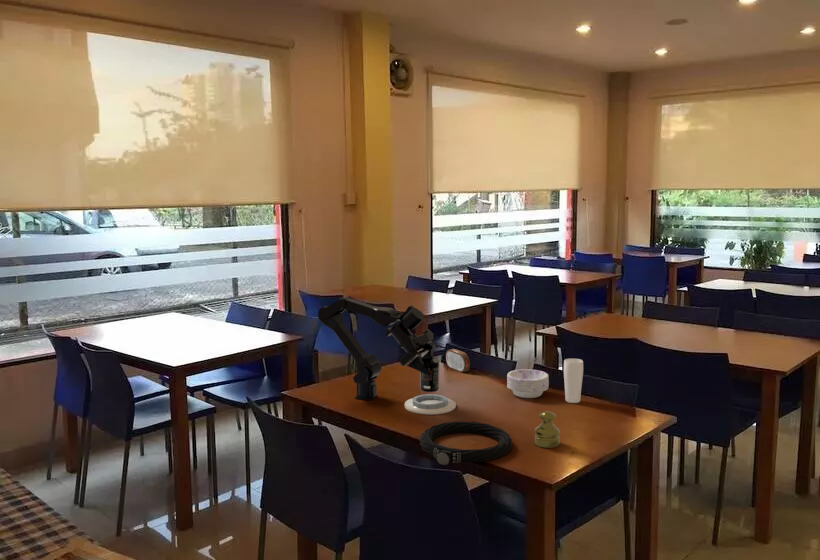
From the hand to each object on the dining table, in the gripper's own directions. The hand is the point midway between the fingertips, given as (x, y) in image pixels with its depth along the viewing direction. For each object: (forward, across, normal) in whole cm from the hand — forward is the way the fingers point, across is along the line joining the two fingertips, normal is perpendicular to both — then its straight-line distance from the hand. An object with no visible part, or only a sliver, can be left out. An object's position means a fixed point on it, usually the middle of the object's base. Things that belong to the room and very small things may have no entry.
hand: (433, 371), depth 241 cm
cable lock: (+26, -31, -8) cm, 41 cm away
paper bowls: (+27, +28, -10) cm, 40 cm away
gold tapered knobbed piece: (+41, -18, -24) cm, 51 cm away
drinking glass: (+39, +27, -22) cm, 52 cm away
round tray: (+8, 0, +10) cm, 13 cm away
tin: (+1, +50, +17) cm, 53 cm away
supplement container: (+4, 0, +6) cm, 7 cm away
